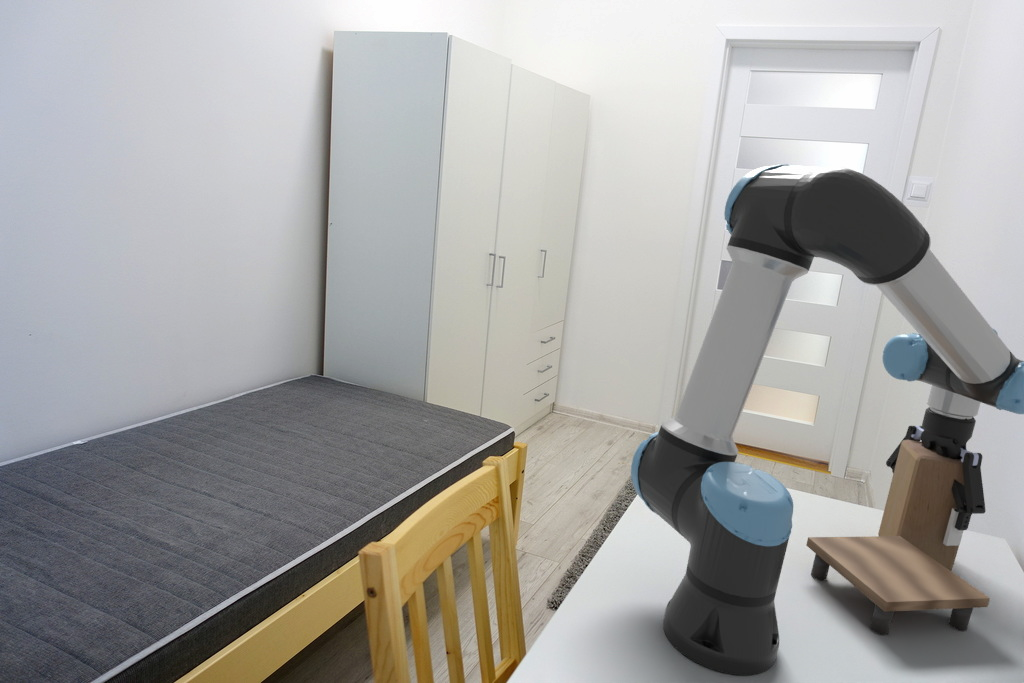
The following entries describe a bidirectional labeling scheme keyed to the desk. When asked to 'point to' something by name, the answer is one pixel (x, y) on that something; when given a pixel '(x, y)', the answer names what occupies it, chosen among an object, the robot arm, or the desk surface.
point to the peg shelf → (896, 578)
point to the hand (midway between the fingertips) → (921, 525)
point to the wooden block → (922, 500)
